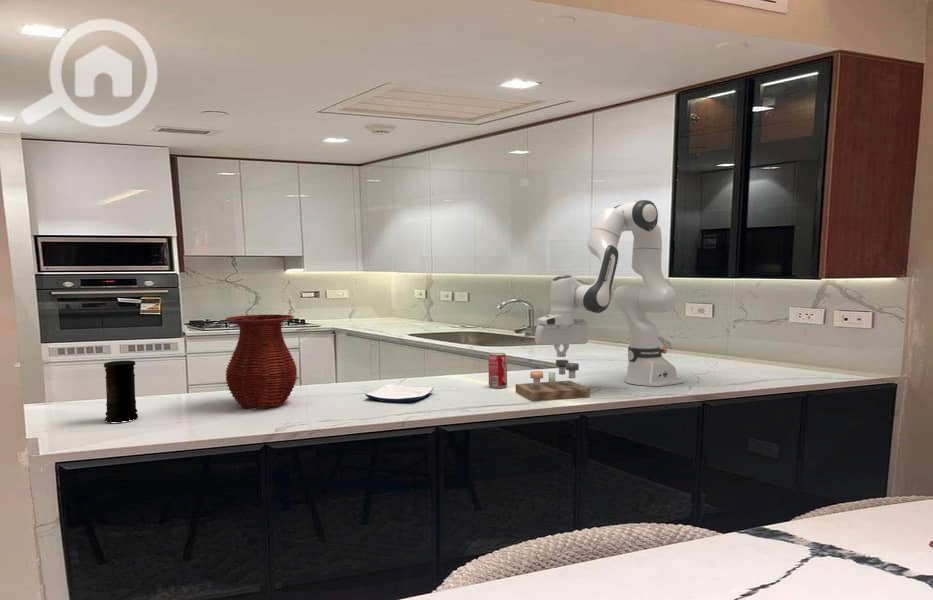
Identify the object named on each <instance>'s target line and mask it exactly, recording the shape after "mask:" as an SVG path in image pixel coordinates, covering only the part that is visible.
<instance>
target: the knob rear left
mask: <svg viewBox="0 0 933 600" xmlns="http://www.w3.org/2000/svg"><path fill="white" fill-rule="evenodd" d="M579 365H580V364H579V363H577V362H568V363H566V367H565V371H568V379H576V374H577V373H576V371H579V367H580V366H579Z"/></svg>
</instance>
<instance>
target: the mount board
mask: <svg viewBox="0 0 933 600" xmlns="http://www.w3.org/2000/svg"><path fill="white" fill-rule="evenodd" d="M515 393H516V394H517V395H520V396H522V397H523V396H524V397H523V398H525V399H527V400H529V401H531V402H543V401H545V402H546V401H556V400H559V401H560V400H570V399H571V400H572V399H581V398H583V399H584V398H590V397H591V388H589V387H587V386H584V385H582V384H579V383H577V382H574V381H572V380H557V381H556V380H555V387H549V381H544V382H542V381H540V386H539V387H535V386H533V382H529V383H527V382H525V383H515Z"/></svg>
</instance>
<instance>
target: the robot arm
mask: <svg viewBox="0 0 933 600" xmlns="http://www.w3.org/2000/svg"><path fill="white" fill-rule="evenodd" d="M658 212H659V211H658V208H657V206H656V204H655V203H654V202H653V201H652V200H646V199H641V200H640V199H639V200H633V201H629V202H626V203H622V204H619V205H616V206H614V207H606V208H604V209H602V211H601V212H600V213H599V215H598V217H597V218H596V220H595V222H594V224H593V226H592V229H591V230H590V233H589V236H588V240H587V247H588V250H589V251H590V253H591V254H592V255H593V256H594V257H596V258H598V259H599V266H598V267H599V268H598V272H597V275H596V279H595V281H594V282H593V283H592V284H583V283H581V282H579V281H577V279H575V278H574V277H573V275H568V274H567V275H560V276H556V277H554V278H553V279H552V280H551V284H550V293H549V294H550V297H549V300H550V305H551V306H550V309H549V314H547V315H544V316H541V317H538V318H537V324H538V325H537V326H536V329H535V334H534V343H535V344H536V345H538V346H553V347H554V350H555V352H556V357H558V358H561V357H562V358H565V357H566V356H567V352H568V350H569V348H570V345H586V344H587V343H588V342H589V335H588V322H587V321H586V320H585V319H583V318H580V319H578V318H575V310H576V311H577V310H579V311H582V312H583V311H584V312H585V311H586V312H590V313H595V314H596V313H597V314H600V313H603V312H604V311H606V310H607V309H608V307H609V305H610V303H611V299H612V301H613V304H614V306H615V307H616V308H617V309H618V310H619V312H621V313H622V315H623V316H624V319H625V320H626V323H627V326H628V336H629V338H628V339H629V340H628V341H629V344H628V347H627V358H628V362H627V364H628V365H627V370H626V371H627V372H626V375H625V378H624V382H625V383H626V384H631V385H637V386H638V385H639V386H649V387H662V386H663V387H664V386H670V385H672V386H673V385H679V384H683V383H684V382H683V379H682V378H679V377H677V376H678V374H677V369H676V367H675V365H673V364H672V363H670V361H668V360H667V359H666V358H664V357H663V355H666V354H667V353H668V349H667V348H661V347H659V328H658V326H657V325H656V324H655V323H654V322H652V321H651V320H649V319H648V317H647V313H650V314H651V313H653V314H661V313H667V312H671V311H673V310H674V309H675V307H676V305H677V304H678V295H677V292H676V291H675V288H673V287H672V286H670V284H669V283H668V282H667V280H666V279H665V276H664V274H663V270H662V252H663V251H662V250H663V249H662V248H663V246H662V244H663V243H662V242H663V240H662V230H661V226H660V225H659V224H658V221H659V213H658ZM622 232H623V233H624V232H631V234H632V236H633V242H632V252H631V253H632V256H631V257H632V258H631V269H632V270H633V272H634V273H636V275H639V276H641V278H642V281H643V284H631V283H628V284H623V285H620V286H617V287H616V289H615V290H614V292H613V295H612V286H613V283H614V277H615V273H616V270H617V267H618V262H619V250H618V245H619V242H620V240H621V236H622ZM611 296H612V298H611ZM561 345H562V348H563V349H562V351H561V350H560V348H561Z"/></svg>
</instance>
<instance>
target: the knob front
mask: <svg viewBox="0 0 933 600" xmlns="http://www.w3.org/2000/svg"><path fill="white" fill-rule="evenodd" d="M529 374H530V375H529V377H530V379H533V381H532V383H533V386H535V387H539V386H540V382H541V380H542V379H543V378H544V371H540V370H533V371H530V372H529Z"/></svg>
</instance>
